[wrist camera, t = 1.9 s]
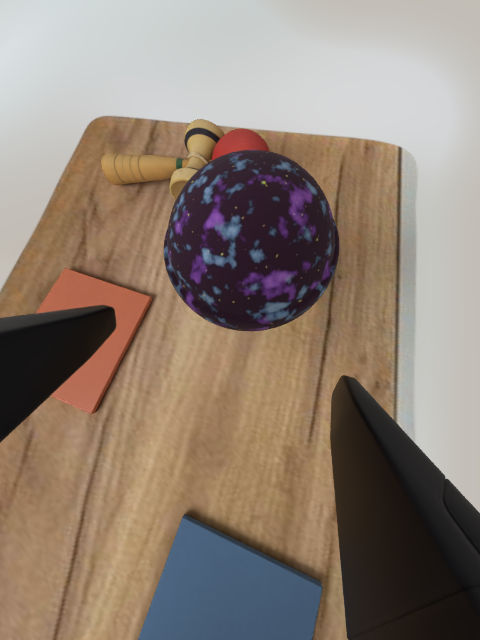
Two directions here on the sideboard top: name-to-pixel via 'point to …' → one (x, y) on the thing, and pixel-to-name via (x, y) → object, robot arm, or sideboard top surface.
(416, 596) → the robot arm
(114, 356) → the terracotta pad
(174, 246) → the lollipop
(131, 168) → the kendama
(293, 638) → the slate pad
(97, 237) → the sideboard top surface
